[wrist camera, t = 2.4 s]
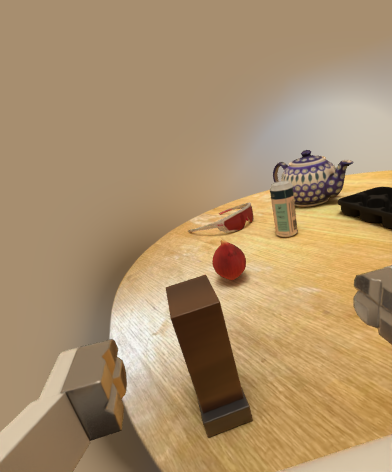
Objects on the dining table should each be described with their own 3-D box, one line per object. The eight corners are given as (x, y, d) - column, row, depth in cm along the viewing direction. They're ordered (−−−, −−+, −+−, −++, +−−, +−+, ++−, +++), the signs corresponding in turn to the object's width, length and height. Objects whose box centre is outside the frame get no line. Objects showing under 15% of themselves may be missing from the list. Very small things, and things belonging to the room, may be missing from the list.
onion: (248, 269, 48) (241, 231, 46) (248, 287, 43) (240, 244, 40) (219, 272, 50) (210, 235, 47) (215, 290, 45) (205, 249, 42)
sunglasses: (231, 238, 63) (225, 219, 62) (189, 242, 76) (183, 226, 75) (266, 213, 74) (261, 197, 73) (224, 220, 87) (219, 206, 86)
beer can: (294, 228, 61) (288, 178, 57) (301, 235, 56) (295, 182, 52) (273, 232, 61) (266, 183, 57) (279, 240, 57) (272, 187, 53)
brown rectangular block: (253, 420, 24) (225, 307, 19) (208, 438, 23) (169, 326, 19) (230, 365, 30) (205, 269, 25) (194, 378, 29) (162, 283, 25)
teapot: (262, 205, 83) (255, 159, 78) (293, 191, 89) (289, 148, 84) (333, 215, 62) (330, 153, 57) (369, 196, 68) (369, 138, 63)
